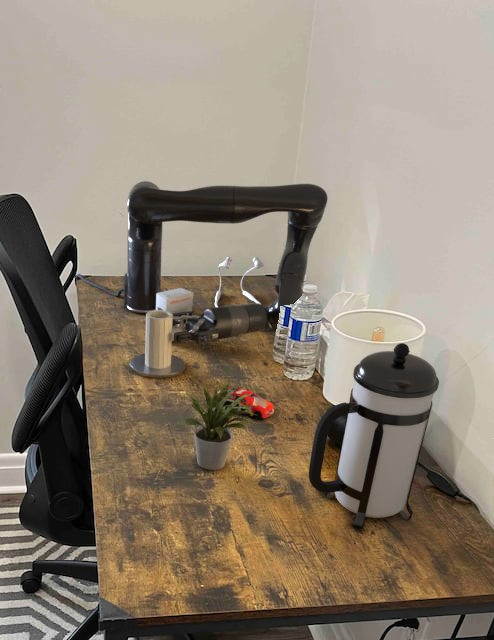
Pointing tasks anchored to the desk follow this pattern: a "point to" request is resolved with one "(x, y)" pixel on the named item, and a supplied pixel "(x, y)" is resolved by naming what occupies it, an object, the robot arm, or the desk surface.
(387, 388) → the coffee press
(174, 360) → the stand
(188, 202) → the robot arm
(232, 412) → the house plant
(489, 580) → the desk surface
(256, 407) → the race car
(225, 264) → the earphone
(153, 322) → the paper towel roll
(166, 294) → the ink box
